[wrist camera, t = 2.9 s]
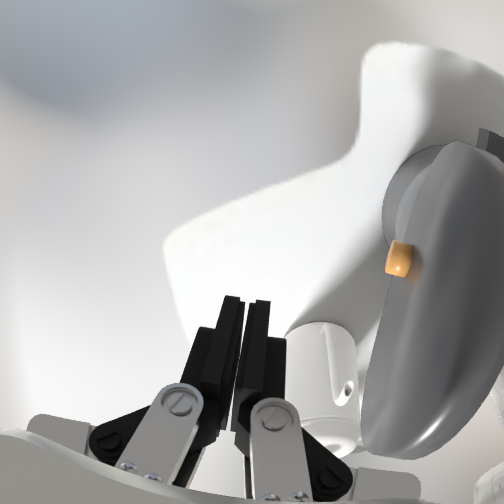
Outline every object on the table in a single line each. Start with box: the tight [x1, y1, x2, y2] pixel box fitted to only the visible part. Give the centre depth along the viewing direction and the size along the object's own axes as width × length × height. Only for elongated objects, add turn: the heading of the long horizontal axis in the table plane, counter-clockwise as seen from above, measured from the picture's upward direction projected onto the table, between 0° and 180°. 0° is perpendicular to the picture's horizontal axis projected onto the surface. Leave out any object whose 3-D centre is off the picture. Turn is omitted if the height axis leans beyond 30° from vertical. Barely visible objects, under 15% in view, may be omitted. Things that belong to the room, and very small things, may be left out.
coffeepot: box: [284, 322, 361, 458], centre depth 32 cm, size 11×25×19 cm, turn 0°
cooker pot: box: [382, 129, 504, 248], centre depth 25 cm, size 16×21×11 cm
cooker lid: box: [360, 141, 504, 460], centre depth 14 cm, size 17×17×3 cm
